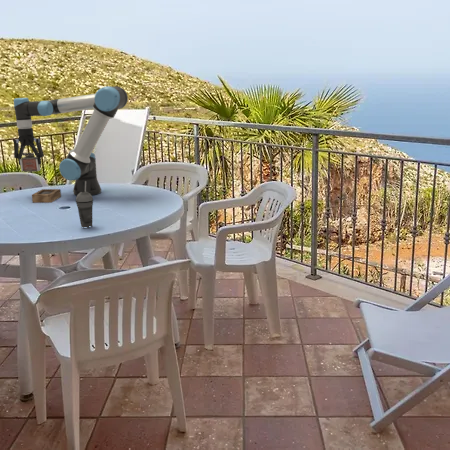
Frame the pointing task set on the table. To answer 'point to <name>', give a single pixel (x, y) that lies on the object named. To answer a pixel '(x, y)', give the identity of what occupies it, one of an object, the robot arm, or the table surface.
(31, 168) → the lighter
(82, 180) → the robot arm
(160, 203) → the table surface
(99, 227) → the table surface
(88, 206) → the beverage cup
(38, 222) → the table surface
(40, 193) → the shallow wooden box
